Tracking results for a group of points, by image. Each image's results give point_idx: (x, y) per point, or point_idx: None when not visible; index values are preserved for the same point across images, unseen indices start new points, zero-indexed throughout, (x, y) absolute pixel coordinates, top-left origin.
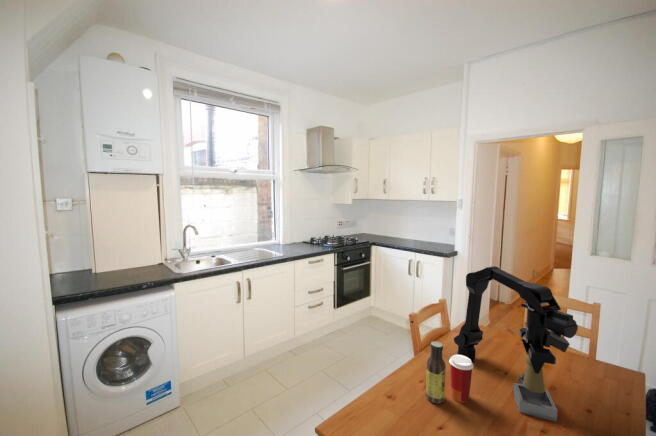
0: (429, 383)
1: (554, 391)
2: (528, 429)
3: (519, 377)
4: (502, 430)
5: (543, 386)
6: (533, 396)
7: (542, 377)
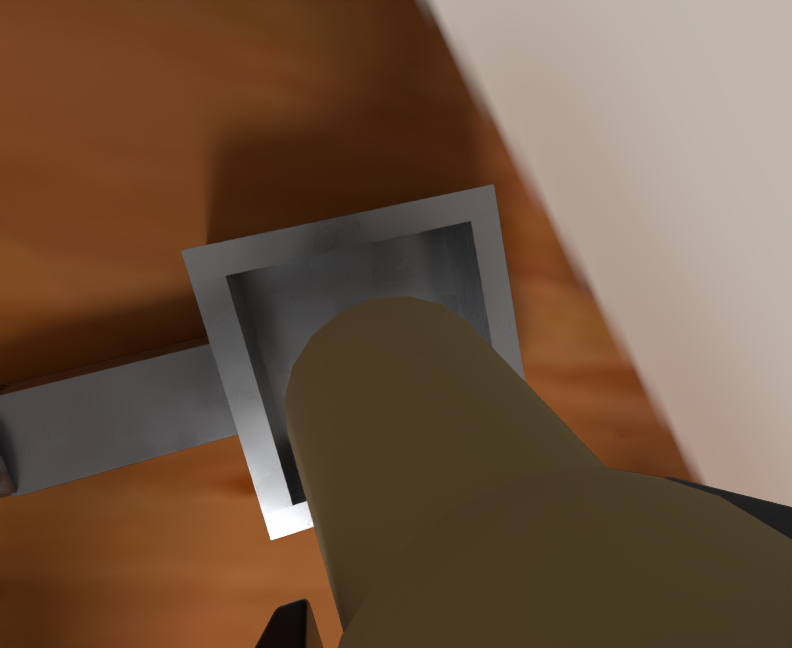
0: None
1: None
2: (621, 354)
3: (11, 494)
4: (694, 469)
5: (452, 322)
6: (260, 353)
7: (506, 375)
